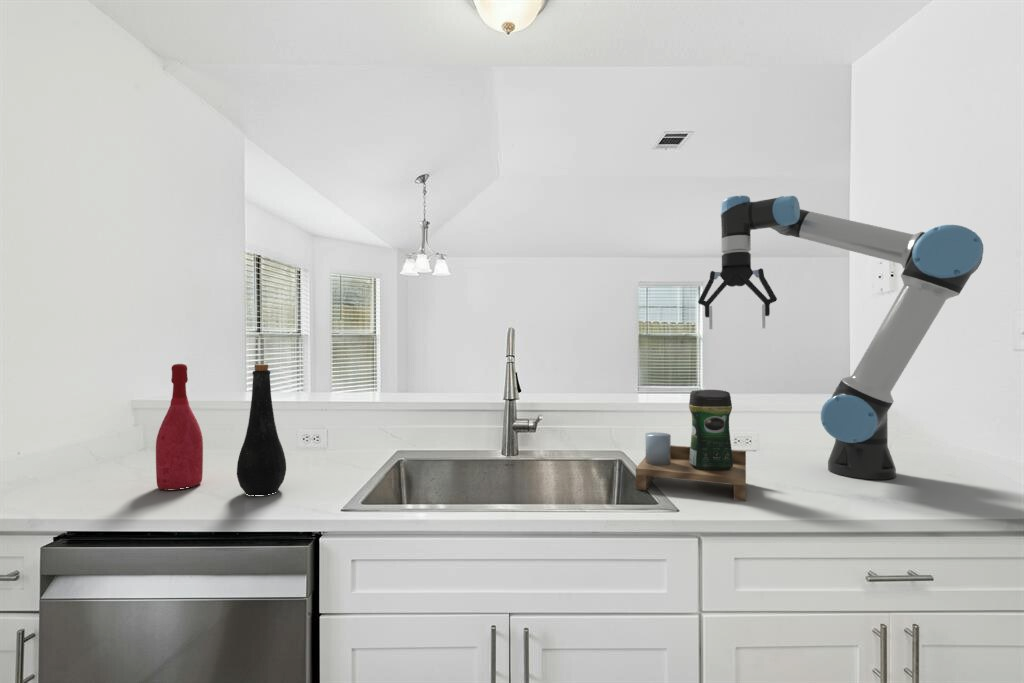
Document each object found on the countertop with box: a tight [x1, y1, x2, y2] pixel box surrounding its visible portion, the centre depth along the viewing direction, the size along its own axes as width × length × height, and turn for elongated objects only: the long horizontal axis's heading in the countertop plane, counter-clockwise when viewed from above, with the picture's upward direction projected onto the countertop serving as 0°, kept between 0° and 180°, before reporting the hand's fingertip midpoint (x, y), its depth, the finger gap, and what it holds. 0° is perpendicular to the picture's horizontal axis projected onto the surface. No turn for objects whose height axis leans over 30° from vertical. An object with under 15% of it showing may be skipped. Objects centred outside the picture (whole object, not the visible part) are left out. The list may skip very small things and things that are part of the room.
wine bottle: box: [155, 363, 204, 491], centre depth 132 cm, size 10×10×30 cm
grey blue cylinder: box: [645, 431, 672, 465], centre depth 134 cm, size 6×6×7 cm
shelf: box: [635, 445, 747, 502], centre depth 130 cm, size 24×16×8 cm, turn 66°
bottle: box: [236, 363, 287, 496], centre depth 126 cm, size 11×11×30 cm
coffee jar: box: [688, 389, 733, 470], centre depth 129 cm, size 10×8×19 cm
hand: (736, 328), depth 151 cm, fingers open, 13 cm apart
